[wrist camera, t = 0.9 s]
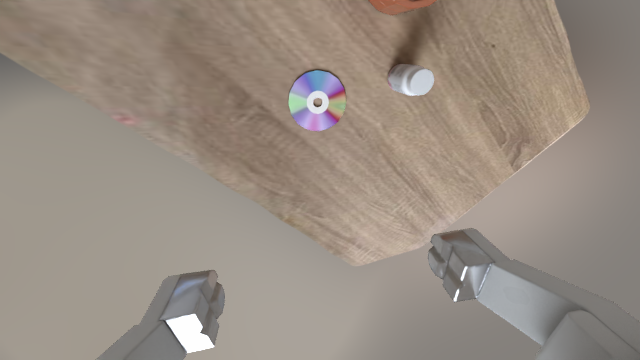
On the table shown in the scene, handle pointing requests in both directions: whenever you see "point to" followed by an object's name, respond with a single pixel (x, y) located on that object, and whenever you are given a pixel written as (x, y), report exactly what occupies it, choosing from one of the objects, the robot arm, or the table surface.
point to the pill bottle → (410, 79)
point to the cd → (317, 87)
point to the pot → (399, 5)
